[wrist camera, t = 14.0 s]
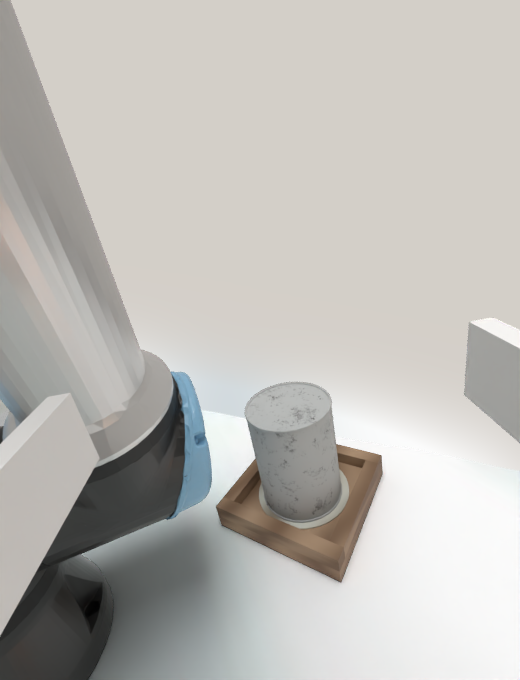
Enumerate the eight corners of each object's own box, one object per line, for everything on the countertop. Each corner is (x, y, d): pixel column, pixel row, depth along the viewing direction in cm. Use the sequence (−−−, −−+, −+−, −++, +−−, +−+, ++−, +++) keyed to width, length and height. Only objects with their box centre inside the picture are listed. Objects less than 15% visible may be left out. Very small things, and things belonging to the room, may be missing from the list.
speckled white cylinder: (260, 525, 38) (238, 435, 33) (267, 463, 47) (250, 386, 42) (347, 520, 36) (336, 426, 32) (337, 458, 45) (327, 377, 41)
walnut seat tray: (221, 524, 41) (216, 506, 40) (281, 446, 52) (278, 430, 51) (341, 582, 32) (338, 561, 31) (382, 473, 44) (381, 455, 43)
